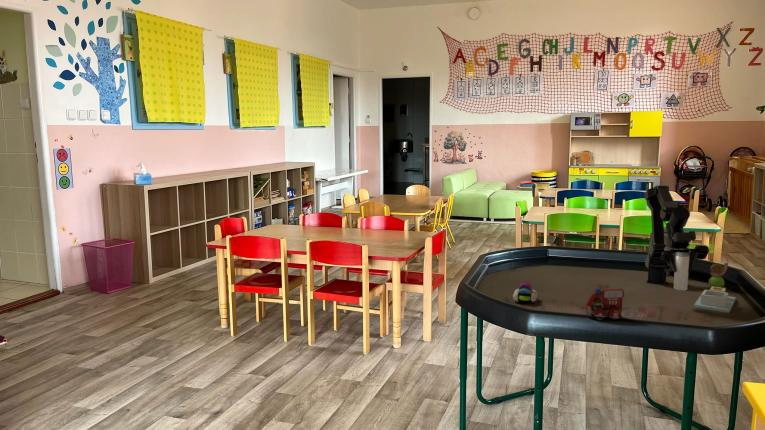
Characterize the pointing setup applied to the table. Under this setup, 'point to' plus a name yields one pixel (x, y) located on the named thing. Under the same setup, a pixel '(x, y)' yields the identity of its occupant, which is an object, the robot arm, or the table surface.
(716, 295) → the fitting board
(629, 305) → the table surface
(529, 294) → the multicoloured small toy
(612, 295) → the toy fire truck
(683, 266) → the white cylinder
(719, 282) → the snail figurine
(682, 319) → the table surface
